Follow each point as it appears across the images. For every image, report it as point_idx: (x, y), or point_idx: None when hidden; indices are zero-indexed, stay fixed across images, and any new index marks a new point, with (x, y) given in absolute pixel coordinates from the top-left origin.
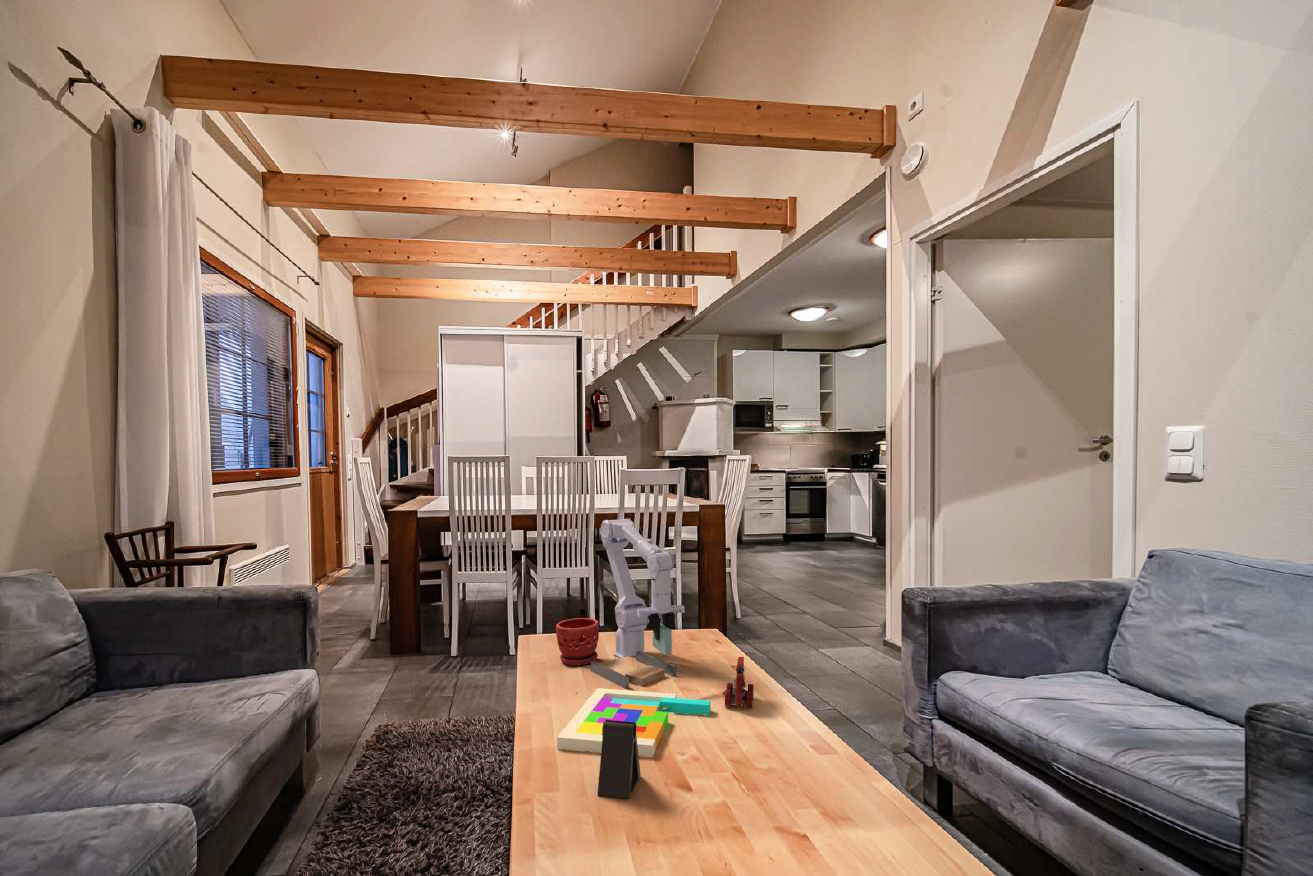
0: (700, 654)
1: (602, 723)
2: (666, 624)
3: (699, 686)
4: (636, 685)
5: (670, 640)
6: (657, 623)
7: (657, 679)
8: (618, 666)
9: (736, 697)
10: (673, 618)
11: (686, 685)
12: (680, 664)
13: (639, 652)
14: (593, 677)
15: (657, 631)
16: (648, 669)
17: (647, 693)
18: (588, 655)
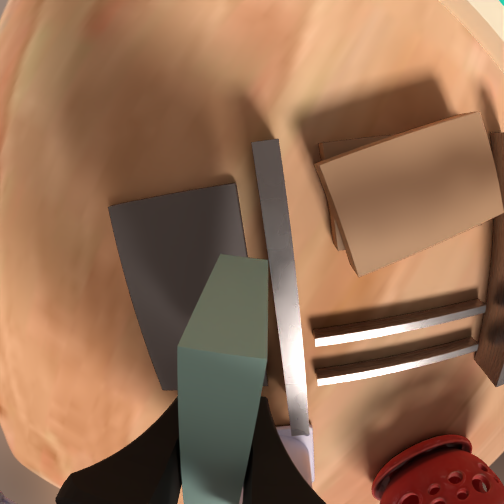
0: (46, 363)
1: None
2: (169, 472)
3: (199, 33)
4: None
5: (212, 297)
6: (285, 495)
7: (369, 142)
8: (366, 405)
9: None
10: (83, 482)
11: (245, 66)
12: (137, 323)
13: (304, 422)
14: None
15: (274, 440)
16: (399, 207)
17: (486, 5)
18: (434, 457)
